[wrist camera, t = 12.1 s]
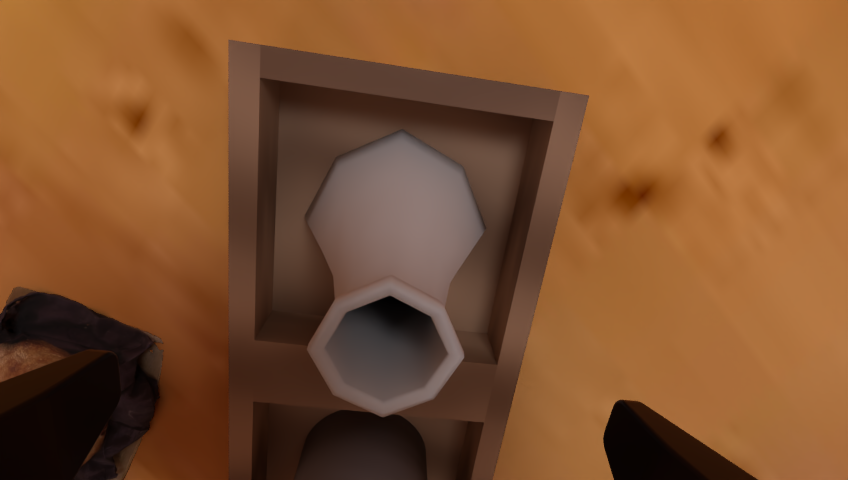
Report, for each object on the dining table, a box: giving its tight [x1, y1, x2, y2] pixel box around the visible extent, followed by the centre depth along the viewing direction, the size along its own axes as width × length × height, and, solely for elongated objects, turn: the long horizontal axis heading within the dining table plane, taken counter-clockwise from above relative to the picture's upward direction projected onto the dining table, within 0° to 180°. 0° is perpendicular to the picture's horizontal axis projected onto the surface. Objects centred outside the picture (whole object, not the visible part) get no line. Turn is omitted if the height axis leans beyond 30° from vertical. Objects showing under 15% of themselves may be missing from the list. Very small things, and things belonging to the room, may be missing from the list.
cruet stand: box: [229, 40, 589, 480], centre depth 17 cm, size 25×12×10 cm, turn 172°
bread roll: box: [0, 287, 164, 480], centre depth 21 cm, size 11×8×4 cm
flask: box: [305, 129, 486, 417], centre depth 14 cm, size 7×7×10 cm
